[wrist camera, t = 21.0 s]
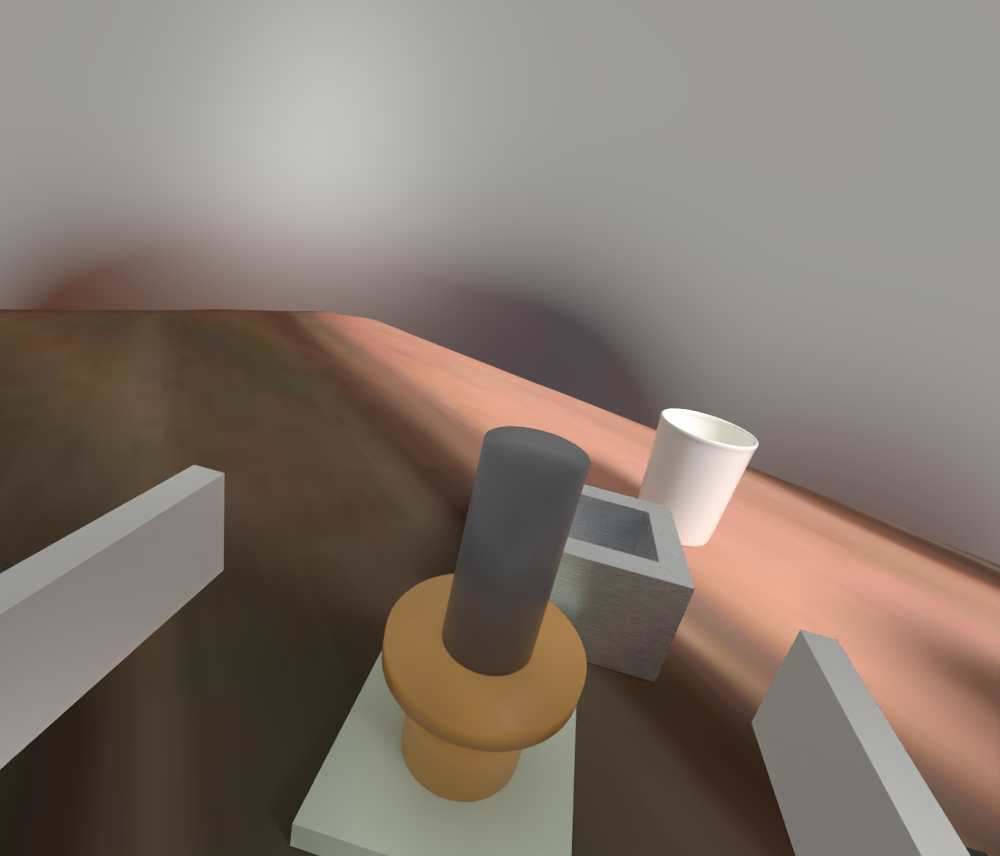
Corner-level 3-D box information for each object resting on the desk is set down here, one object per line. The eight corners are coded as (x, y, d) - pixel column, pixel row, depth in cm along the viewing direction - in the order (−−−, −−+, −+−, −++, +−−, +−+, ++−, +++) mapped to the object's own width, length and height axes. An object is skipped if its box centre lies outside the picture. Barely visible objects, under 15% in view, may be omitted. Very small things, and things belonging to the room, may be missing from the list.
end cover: (556, 693, 31) (643, 438, 25) (542, 873, 22) (671, 543, 16) (404, 647, 32) (453, 389, 26) (331, 802, 23) (380, 463, 17)
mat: (570, 701, 33) (577, 683, 32) (560, 937, 22) (569, 916, 21) (389, 646, 34) (393, 628, 33) (290, 845, 23) (292, 823, 22)
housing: (640, 584, 46) (670, 507, 43) (654, 682, 36) (694, 589, 33) (519, 551, 47) (540, 472, 44) (499, 636, 37) (525, 541, 34)
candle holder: (723, 563, 52) (769, 457, 48) (627, 533, 54) (664, 428, 50) (709, 517, 62) (747, 424, 57) (627, 493, 63) (658, 401, 59)
